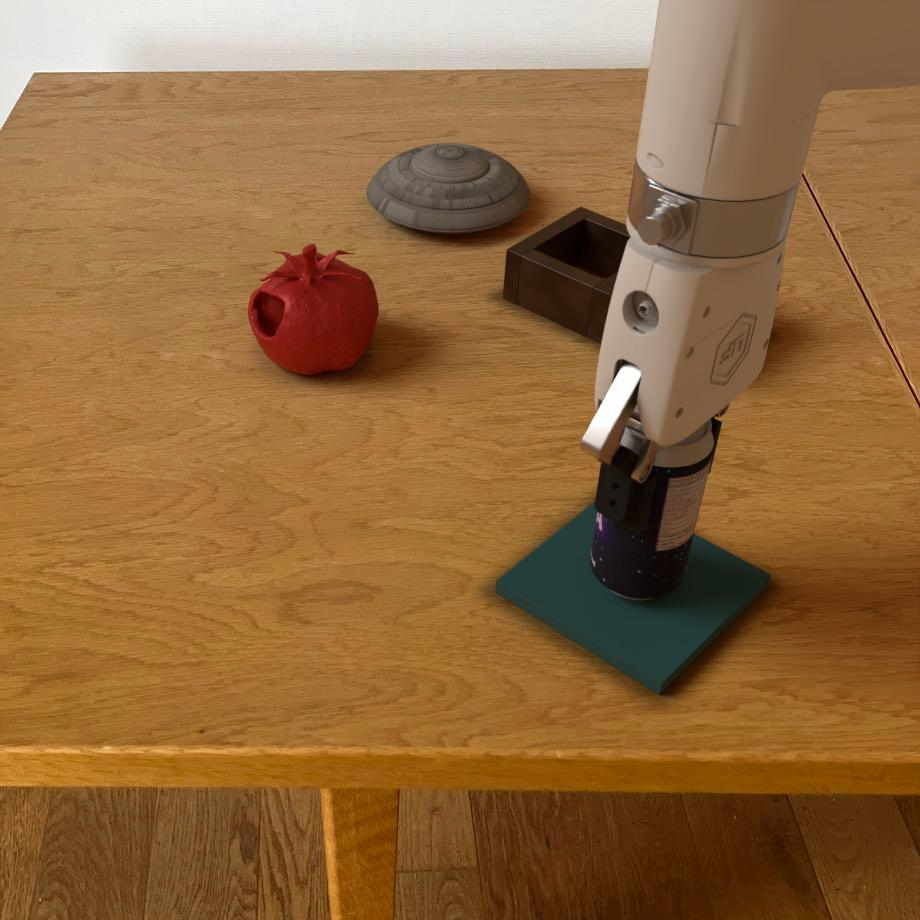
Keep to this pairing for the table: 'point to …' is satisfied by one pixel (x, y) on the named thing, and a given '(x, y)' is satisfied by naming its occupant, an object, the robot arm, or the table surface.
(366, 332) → the pomegranate
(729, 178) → the robot arm
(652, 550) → the beverage can
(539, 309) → the box
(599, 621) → the mat
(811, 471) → the table surface
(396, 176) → the flying saucer
